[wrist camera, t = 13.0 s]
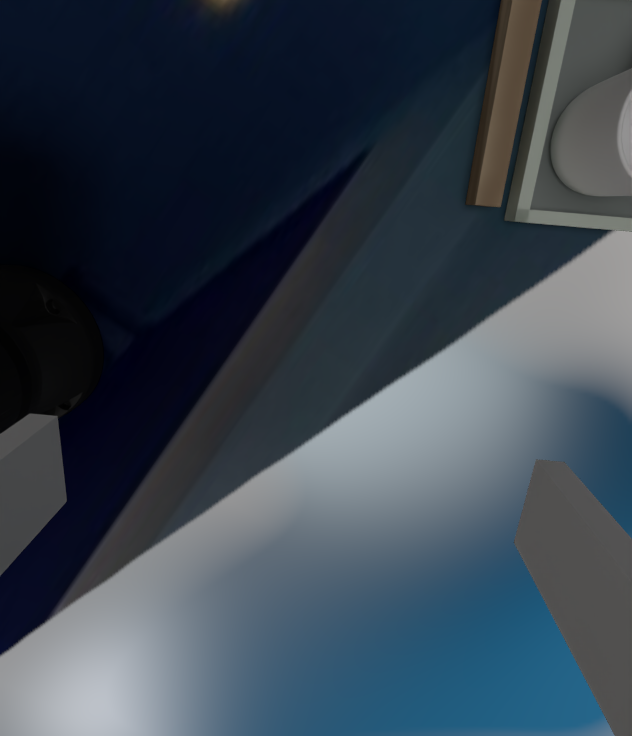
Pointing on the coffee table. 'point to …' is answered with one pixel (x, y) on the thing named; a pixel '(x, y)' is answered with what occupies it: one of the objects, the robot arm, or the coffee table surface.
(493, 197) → the edge rail
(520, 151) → the frame
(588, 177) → the mug
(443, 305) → the coffee table surface
